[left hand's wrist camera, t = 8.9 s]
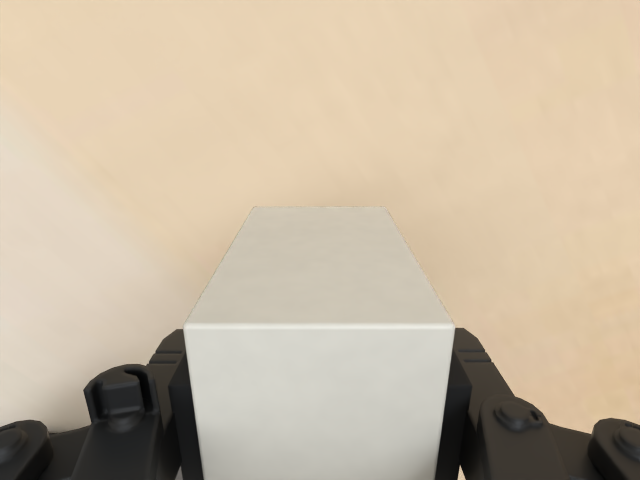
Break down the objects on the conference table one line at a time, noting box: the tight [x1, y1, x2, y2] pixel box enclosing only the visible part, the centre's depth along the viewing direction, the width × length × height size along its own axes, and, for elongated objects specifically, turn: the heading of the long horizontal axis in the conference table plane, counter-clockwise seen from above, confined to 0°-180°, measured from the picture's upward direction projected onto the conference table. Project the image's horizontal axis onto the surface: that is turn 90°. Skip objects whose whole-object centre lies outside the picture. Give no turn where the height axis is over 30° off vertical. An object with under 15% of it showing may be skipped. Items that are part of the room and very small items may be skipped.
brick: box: [183, 207, 455, 480], centre depth 12 cm, size 5×6×8 cm
